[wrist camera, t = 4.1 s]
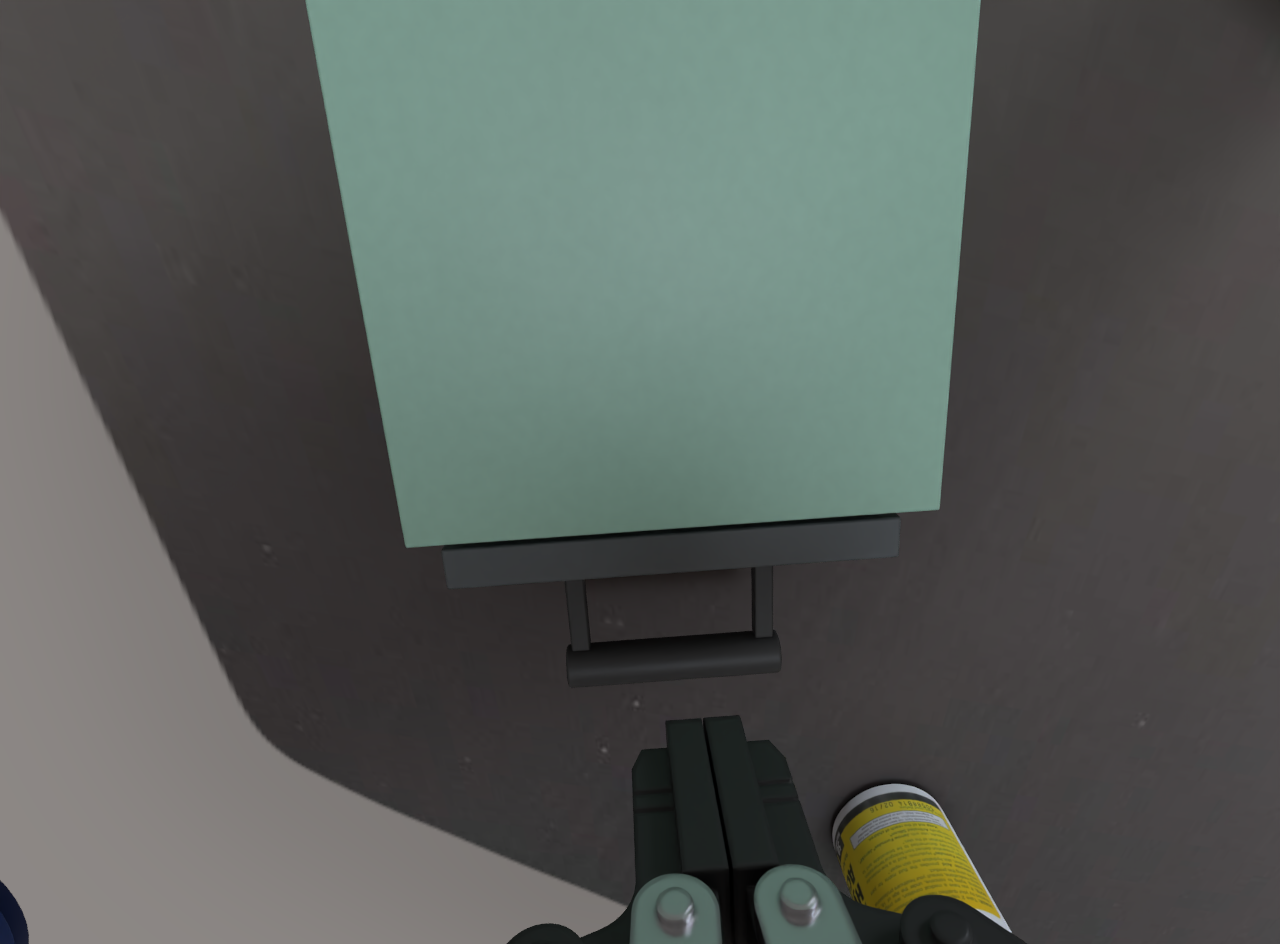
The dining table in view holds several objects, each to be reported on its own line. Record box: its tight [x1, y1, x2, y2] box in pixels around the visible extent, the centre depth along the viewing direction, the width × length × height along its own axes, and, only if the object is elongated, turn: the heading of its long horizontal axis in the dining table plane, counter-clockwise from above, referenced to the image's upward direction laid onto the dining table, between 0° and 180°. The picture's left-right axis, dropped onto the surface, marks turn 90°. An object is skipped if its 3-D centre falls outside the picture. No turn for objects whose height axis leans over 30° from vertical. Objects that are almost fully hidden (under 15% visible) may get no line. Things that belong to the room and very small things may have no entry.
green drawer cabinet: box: [305, 0, 981, 548], centre depth 20 cm, size 16×14×10 cm
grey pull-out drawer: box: [441, 513, 901, 688], centre depth 21 cm, size 20×12×8 cm, turn 4°
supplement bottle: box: [832, 784, 1012, 933], centre depth 29 cm, size 5×5×10 cm
